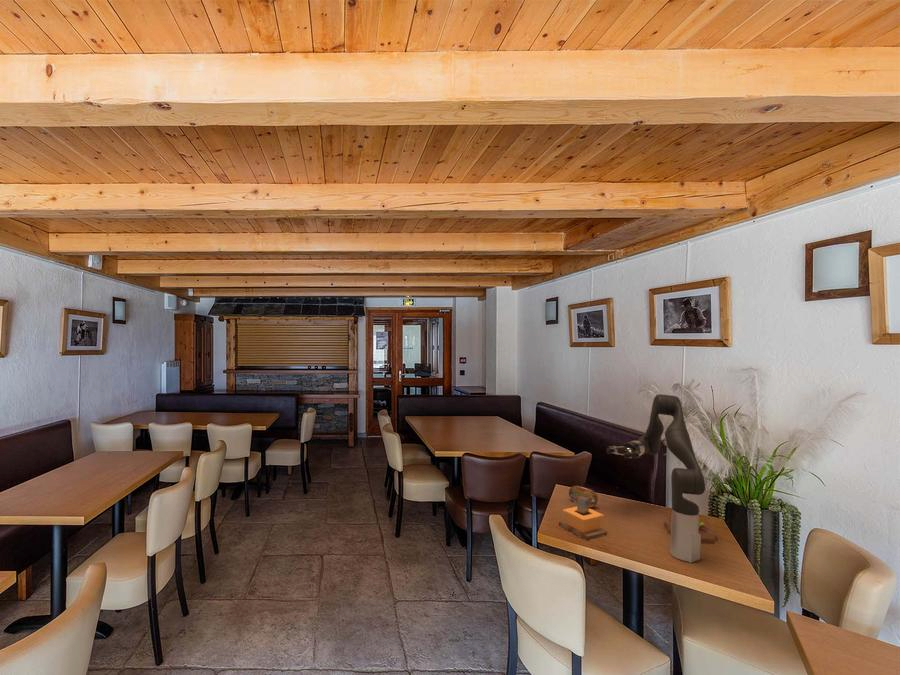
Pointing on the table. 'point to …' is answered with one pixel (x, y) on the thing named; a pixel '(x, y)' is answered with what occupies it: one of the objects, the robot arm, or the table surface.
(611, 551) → the table surface
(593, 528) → the orange square collar
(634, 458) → the robot arm
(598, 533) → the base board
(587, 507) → the dark grey rectangular block
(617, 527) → the table surface
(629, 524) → the table surface
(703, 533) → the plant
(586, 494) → the tin
